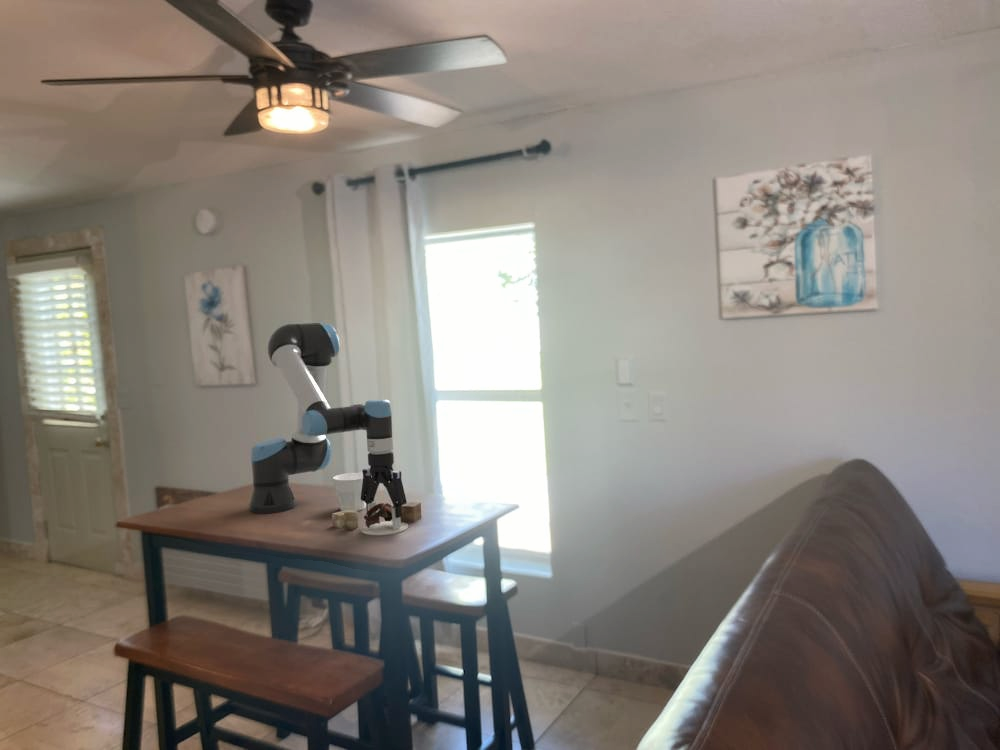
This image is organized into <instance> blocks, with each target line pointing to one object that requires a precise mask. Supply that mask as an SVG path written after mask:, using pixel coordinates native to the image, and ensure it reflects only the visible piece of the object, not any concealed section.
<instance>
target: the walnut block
mask: <svg viewBox="0 0 1000 750" xmlns="http://www.w3.org/2000/svg"><path fill="white" fill-rule="evenodd" d="M421 504H422V503H421V502H416V501H415V502H413V501H407V503H406V504H404V505H402V506H401V510H402V516H401V522H404V523H415V522H417V521H419V520H421V519H422V505H421Z"/></svg>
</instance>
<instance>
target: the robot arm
mask: <svg viewBox="0 0 1000 750" xmlns="http://www.w3.org/2000/svg"><path fill="white" fill-rule="evenodd" d="M340 345H341V344H340V339H339V335H338V333H337V331H336V328H334V326H333V325H332V324H330V323H327V322H326V323H325V322H324V323H323V322H311V323H288V324H284V325H281V326H279V327H278V328H277V329H276V330H274V332H273V333H272V334H271V335H270V338H269V339H268V344H267V353H268V357H269V359H270V361H271V363H272V365H273V366H274V367H275V368H277V369H279V371H280V372H281V374H282V376H283V378H284V380H285V382H286V384H287V385H288V387H289V389H290V390H291V392H292V394H293V396H294V397H295V400H296V401H297V403H298V404H297V405H298V406H297V418H296V419H297V420H296V422H297V423H296V430H295V431H293V432H292V434H291V440H290V441H287V440H286V438H281V437H279V438H274V439H273V438H272V439H271V438H270V439H266V440H264V441H263V440H262V441H260V442H258V443H256V444H254V445H253V446H252V447H251V457H250V460H251V469H252V472H251V473H252V481H253V482H252V484H253V489H252V494H251V497H250V501H249V505H248V506H249V512H250V513H254V514H275V513H281V512H284V511H288V510H292V509H293V508H295V507H296V499H295V496H294V493H293V491H292V489H291V487H290V484H289V483H290V482H289V481H290V480H289V476H292V475H293V476H294V475H298V474H304V473H310V472H311V473H314V472H316V471H320V470H323V469H325V468H326V467H327V466H328V465H329V463H330V461H331V457H332V448H331V447H332V446H331V442H330V440H329V439H328V438H327V437H326V436H327V435H331V434H332V435H333V434H338V433H348V432H349V433H350V432H355V431H366V442H367V443H366V444H367V452H368V454H367V462H368V464H367V465H368V466H370V467H368V468H363V469H362V470H361V473H363V482H362V491H361V500H362V501H365V503H366V508H365V509H366V513H367V512H368V511H369V510H370V509H371V508H372V507H374V506H375V505H377V504H376V502H375V501H376V500H375V497H376V495H377V491H378V488H379V485H380V484H381V485H383V486H384V487H385V489H386V490H387V493H388V496H389V498H390V500H391V502H392V505H393V506H392V520H391V521H392V522H393V529H397V528H400V527H401V516H402V510H401V506H402V505H404V504H406V503H407V502H408V501H407V497H406V493H405V490H404V485H403V481H402V471H401V470H397V471H395V470H394V467H393V465H394V463H395V462H394V461H395V460H394V458H395V457H394V452H393V450H394V444H393V424H392V423H393V422H392V421H393V420H392V409H391V401H390V400H388V399H381V398H380V399H369V400H367V401H366V402H365V403H364V404H362V403H361V404H358V403H357V404H352V405H350V406H343V407H341V406H340V407H333V408H332V407H331V406H330V404H329V403H328V401H327V399H326V398H325V394H326V393H325V392H326V390H325V389H326V382H327V381H326V379H327V368H328V367H329V366H331V365H332V359H333V358H335V357H337V356H338V355H339V352H340V348H341V347H340ZM375 513H377V511H376V512H375ZM375 513H373V514H372V515H374V514H375ZM372 515H371V516H372ZM375 524H376V523H375Z"/></svg>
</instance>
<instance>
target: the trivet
mask: <svg viewBox="0 0 1000 750" xmlns="http://www.w3.org/2000/svg"><path fill="white" fill-rule="evenodd" d="M379 522H380V524H378V523H376V524H373V525H370V527H369V528H368V527H367V526H366V525H364V526H363V527H361V529H360V532H361V533H362V534H363V533H364V535H368V536H379V537H380V536H391V535H395V534H396V535H397V534H400V533H402V532H405V531H407V530H408V529H409V524H408V522H401V527H400V528H398V529H393V522H392V520H391V521H379Z"/></svg>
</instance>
